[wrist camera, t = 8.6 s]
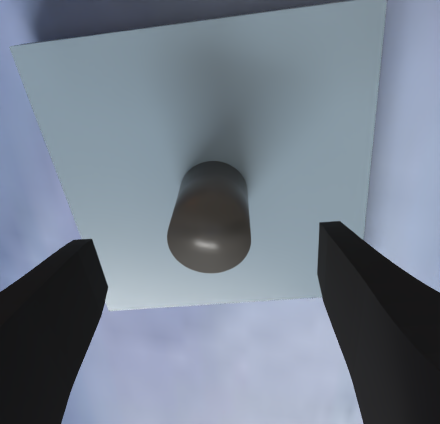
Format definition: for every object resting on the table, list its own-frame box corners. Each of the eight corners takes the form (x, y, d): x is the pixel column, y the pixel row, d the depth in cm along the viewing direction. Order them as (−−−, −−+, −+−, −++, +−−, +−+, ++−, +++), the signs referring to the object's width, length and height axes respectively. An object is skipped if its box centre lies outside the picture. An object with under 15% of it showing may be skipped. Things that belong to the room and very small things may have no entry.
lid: (118, 287, 20) (84, 370, 16) (34, 41, 14) (-64, 61, 9) (347, 271, 19) (383, 355, 15) (368, -4, 13) (443, -6, 8)
